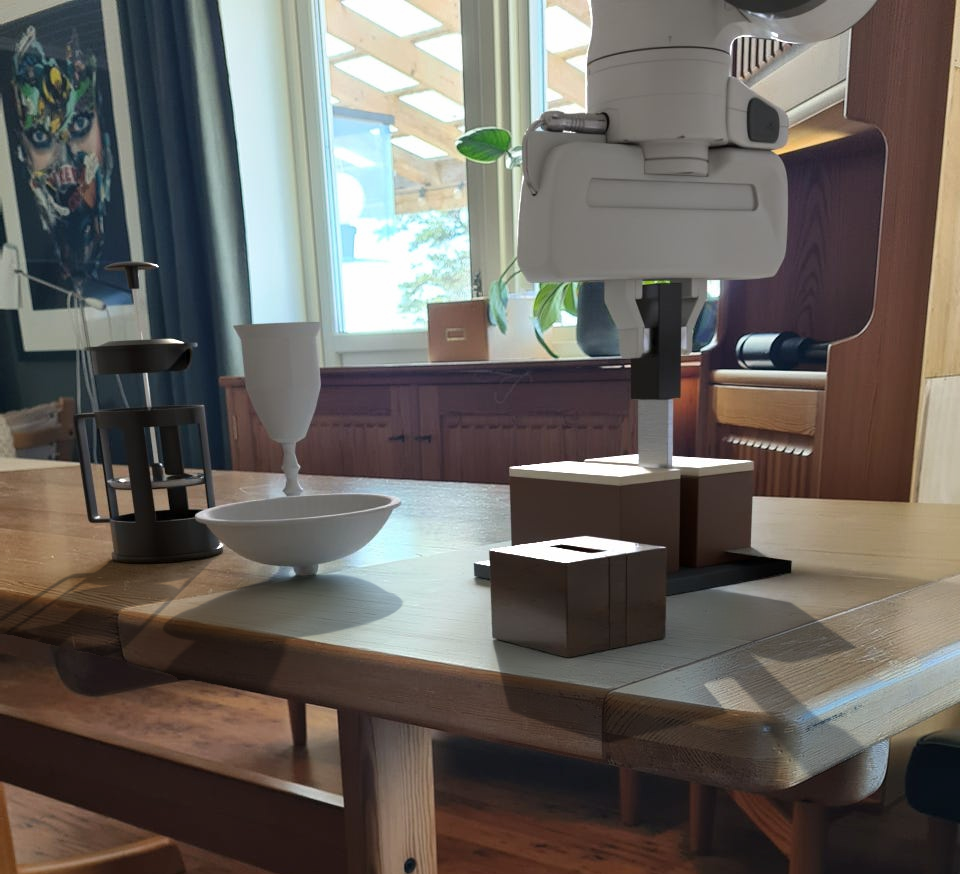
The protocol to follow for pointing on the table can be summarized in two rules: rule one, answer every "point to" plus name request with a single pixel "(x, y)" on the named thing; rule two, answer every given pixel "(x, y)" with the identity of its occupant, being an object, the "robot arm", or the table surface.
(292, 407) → the chalice
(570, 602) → the knife block
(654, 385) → the knife
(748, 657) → the table surface
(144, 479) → the french press
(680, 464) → the brown box set
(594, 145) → the robot arm
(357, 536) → the dish
